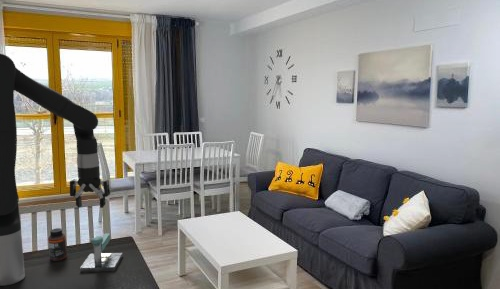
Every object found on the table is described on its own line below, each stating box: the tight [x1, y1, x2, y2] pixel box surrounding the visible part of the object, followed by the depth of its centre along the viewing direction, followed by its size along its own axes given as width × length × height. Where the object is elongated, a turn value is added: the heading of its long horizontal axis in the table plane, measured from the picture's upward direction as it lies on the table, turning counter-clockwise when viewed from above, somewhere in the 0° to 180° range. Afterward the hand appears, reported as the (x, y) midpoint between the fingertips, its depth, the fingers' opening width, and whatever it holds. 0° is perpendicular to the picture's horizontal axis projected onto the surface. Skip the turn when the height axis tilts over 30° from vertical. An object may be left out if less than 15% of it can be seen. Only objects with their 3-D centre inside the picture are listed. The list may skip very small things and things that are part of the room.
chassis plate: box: [79, 243, 123, 273], centre depth 147 cm, size 12×12×10 cm
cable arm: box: [90, 232, 111, 252], centre depth 147 cm, size 4×15×6 cm, turn 4°
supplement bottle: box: [47, 227, 68, 262], centre depth 151 cm, size 6×6×11 cm
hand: (91, 207), depth 150 cm, fingers open, 8 cm apart
